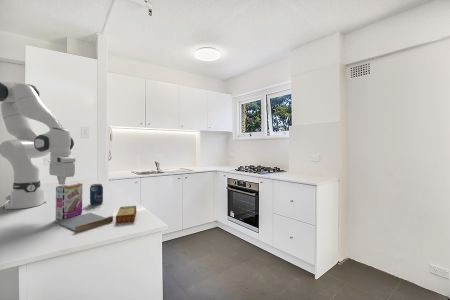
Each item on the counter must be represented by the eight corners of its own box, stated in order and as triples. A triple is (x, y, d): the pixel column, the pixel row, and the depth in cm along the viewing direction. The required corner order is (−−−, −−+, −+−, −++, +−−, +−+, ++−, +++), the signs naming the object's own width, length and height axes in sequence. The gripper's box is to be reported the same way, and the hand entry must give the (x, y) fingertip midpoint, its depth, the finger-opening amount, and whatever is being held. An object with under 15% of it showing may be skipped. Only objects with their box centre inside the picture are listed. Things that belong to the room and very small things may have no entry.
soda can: (97, 205, 131) (97, 186, 131) (87, 205, 133) (87, 185, 132) (105, 202, 138) (105, 183, 138) (96, 202, 139) (96, 183, 139)
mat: (54, 222, 103) (54, 221, 103) (90, 213, 117) (90, 212, 117) (75, 231, 93) (75, 230, 93) (111, 220, 107) (111, 219, 107)
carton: (115, 224, 103) (115, 215, 103) (119, 214, 118) (119, 206, 118) (134, 222, 106) (134, 213, 106) (136, 212, 121) (136, 204, 121)
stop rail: (75, 231, 93) (75, 226, 93) (111, 220, 107) (111, 215, 107) (76, 232, 93) (76, 226, 92) (113, 221, 106) (113, 216, 106)
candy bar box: (63, 220, 106) (63, 187, 105) (55, 219, 107) (54, 186, 106) (83, 213, 117) (82, 183, 116) (75, 212, 118) (75, 182, 117)
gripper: (45, 158, 118) (46, 183, 119) (63, 159, 108) (64, 187, 108) (58, 157, 124) (59, 181, 124) (77, 158, 113) (77, 185, 113)
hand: (61, 184), depth 116 cm, fingers closed
